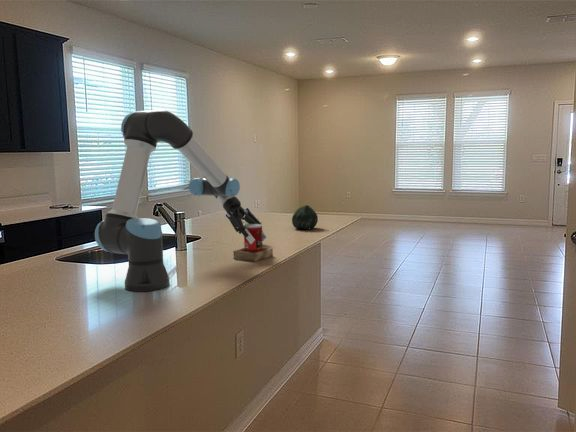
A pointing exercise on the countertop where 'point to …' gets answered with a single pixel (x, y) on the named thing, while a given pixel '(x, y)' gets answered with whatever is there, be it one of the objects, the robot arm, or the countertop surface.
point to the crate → (253, 254)
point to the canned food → (257, 235)
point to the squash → (304, 218)
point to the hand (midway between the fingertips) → (259, 240)
